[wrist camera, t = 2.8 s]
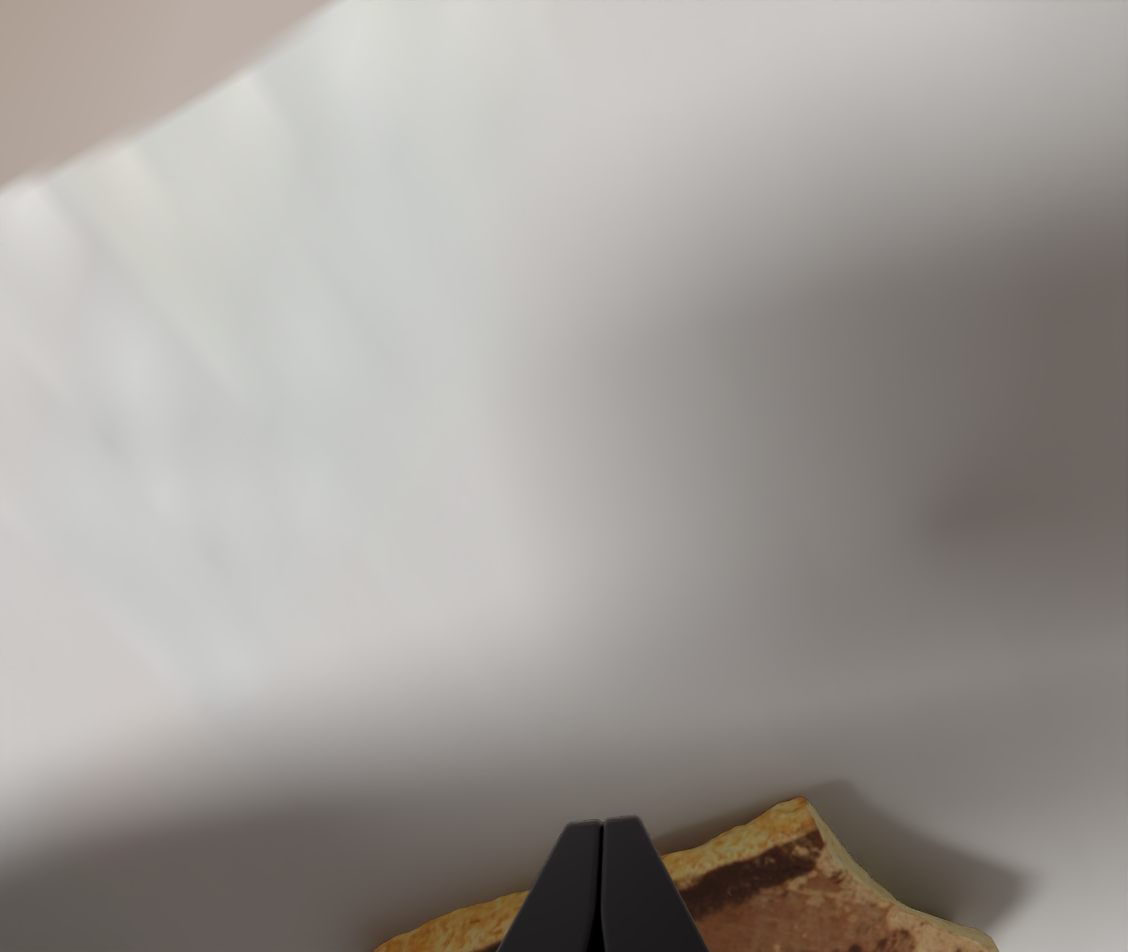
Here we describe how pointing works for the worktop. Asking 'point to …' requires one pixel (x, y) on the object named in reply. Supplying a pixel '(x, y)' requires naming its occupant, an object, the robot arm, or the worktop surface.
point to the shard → (751, 899)
